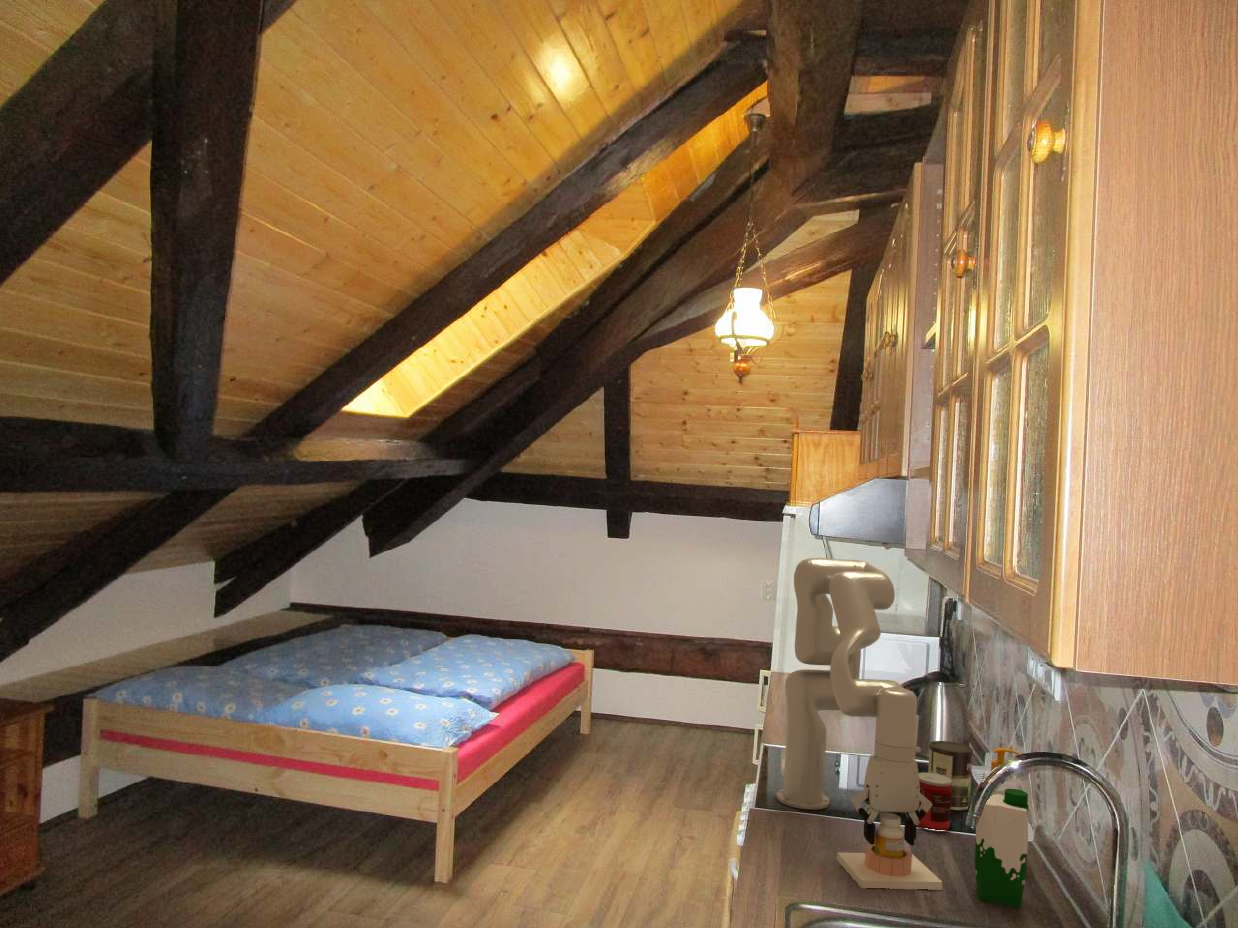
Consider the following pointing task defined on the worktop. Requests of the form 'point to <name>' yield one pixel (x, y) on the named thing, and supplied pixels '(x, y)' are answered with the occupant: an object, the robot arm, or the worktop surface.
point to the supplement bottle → (889, 836)
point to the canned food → (936, 800)
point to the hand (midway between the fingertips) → (889, 841)
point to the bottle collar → (888, 862)
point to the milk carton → (1002, 848)
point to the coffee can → (953, 769)
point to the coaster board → (870, 878)
